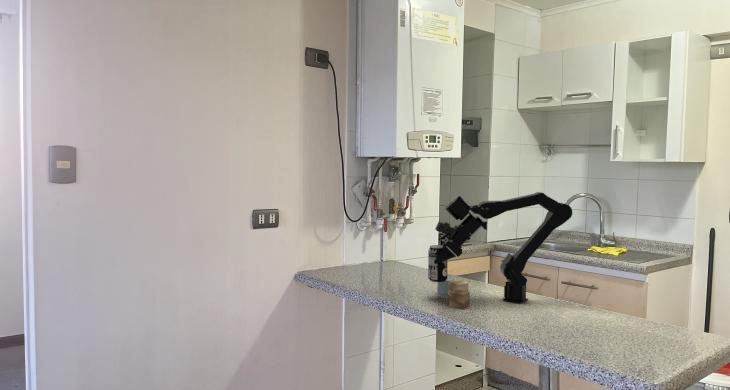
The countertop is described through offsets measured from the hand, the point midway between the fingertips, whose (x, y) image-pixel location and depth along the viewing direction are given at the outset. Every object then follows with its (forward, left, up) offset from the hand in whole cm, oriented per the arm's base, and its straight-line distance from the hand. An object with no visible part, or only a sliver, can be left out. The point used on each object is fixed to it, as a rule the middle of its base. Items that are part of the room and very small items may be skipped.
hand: (433, 261), depth 182 cm
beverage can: (-1, -1, -7) cm, 7 cm away
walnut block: (-12, +2, -13) cm, 18 cm away
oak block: (-4, -10, -13) cm, 17 cm away
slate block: (+2, -11, -13) cm, 17 cm away
